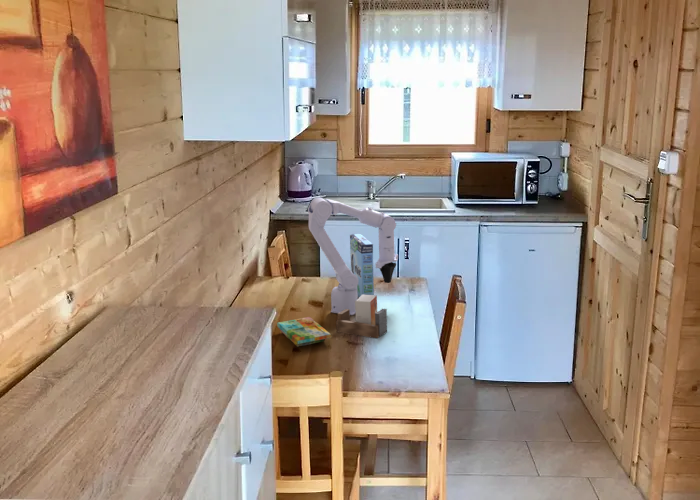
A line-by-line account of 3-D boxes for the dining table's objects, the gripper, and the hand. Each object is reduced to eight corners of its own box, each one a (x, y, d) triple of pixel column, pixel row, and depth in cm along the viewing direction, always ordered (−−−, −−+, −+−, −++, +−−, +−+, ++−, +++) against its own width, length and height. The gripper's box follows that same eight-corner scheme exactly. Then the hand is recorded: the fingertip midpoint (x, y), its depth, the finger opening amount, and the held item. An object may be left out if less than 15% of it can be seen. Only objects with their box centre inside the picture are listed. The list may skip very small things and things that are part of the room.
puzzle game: (308, 314, 246) (331, 331, 228) (309, 327, 247) (331, 345, 229) (277, 320, 241) (297, 338, 223) (277, 333, 242) (298, 352, 225)
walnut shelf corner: (336, 331, 240) (335, 314, 239) (346, 325, 246) (345, 308, 245) (376, 338, 233) (376, 321, 231) (386, 331, 239) (386, 314, 237)
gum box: (351, 288, 289) (349, 234, 284) (363, 287, 290) (361, 233, 285) (362, 302, 271) (360, 244, 265) (375, 301, 272) (373, 243, 266)
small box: (371, 331, 239) (370, 301, 237) (355, 330, 241) (354, 300, 239) (378, 323, 247) (377, 294, 244) (363, 322, 249) (361, 294, 246)
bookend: (375, 336, 235) (374, 313, 233) (383, 331, 239) (382, 308, 237) (379, 336, 234) (378, 314, 232) (387, 331, 238) (386, 309, 237)
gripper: (387, 252, 251) (388, 288, 255) (404, 243, 264) (405, 278, 267) (370, 250, 255) (371, 286, 258) (388, 242, 267) (389, 276, 270)
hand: (387, 282), depth 263 cm, fingers closed
